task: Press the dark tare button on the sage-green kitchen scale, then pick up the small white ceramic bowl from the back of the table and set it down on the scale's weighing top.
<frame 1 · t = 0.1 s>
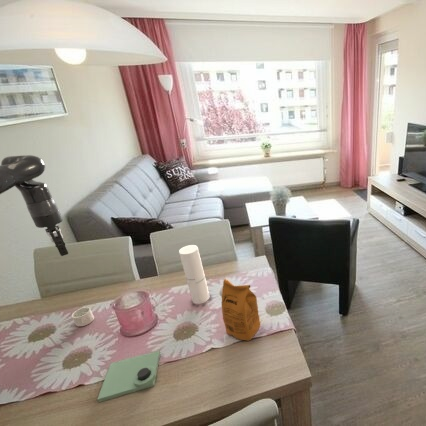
hand: (62, 250, 110), 30 cm above the table, tool pointing down, fingers open, 8 cm apart
tare button: (143, 374, 91), point 4 cm above the table, slide at 0.1 cm
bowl: (85, 321, 118), on the table
cylindrical container: (201, 298, 128), on the table
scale: (132, 375, 95), on the table
coffee package: (243, 330, 111), on the table
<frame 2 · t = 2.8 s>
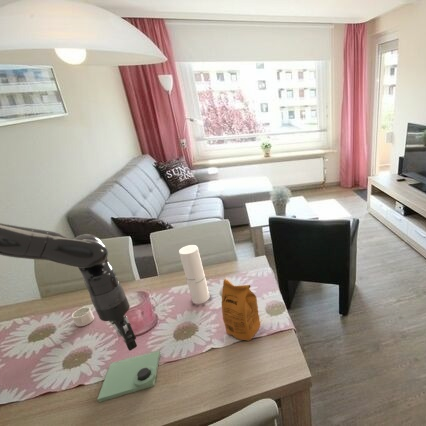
hand: (127, 341, 90), 14 cm above the table, tool pointing down, fingers open, 8 cm apart
nothing on the table moved.
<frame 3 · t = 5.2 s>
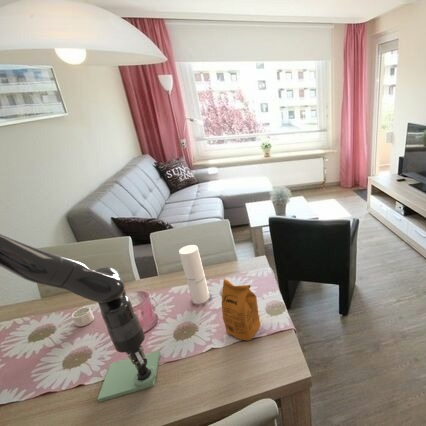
hand: (143, 372, 91), 4 cm above the table, tool pointing down, fingers closed
tare button: (143, 374, 91), point 3 cm above the table, slide at 0.1 cm, touching gripper
everything else where it was.
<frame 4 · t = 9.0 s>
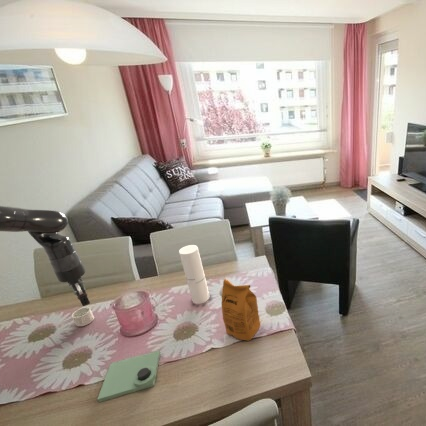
hand: (86, 304, 107), 13 cm above the table, tool pointing down, fingers closed
tare button: (143, 374, 91), point 4 cm above the table, slide at 0.1 cm
everything else where it was.
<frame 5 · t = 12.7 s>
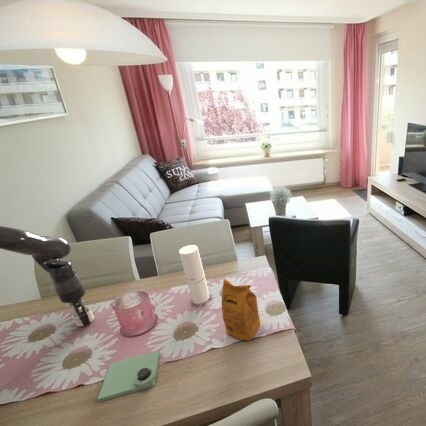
hand: (85, 320, 117), 1 cm above the table, tool pointing down, fingers closed on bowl, 6 cm apart
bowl: (85, 321, 118), on the table, touching gripper
everything else where it was.
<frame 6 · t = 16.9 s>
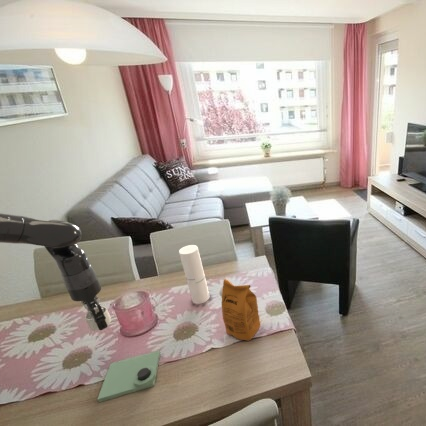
hand: (100, 323, 95), 15 cm above the table, tool pointing down, fingers closed on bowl, 6 cm apart
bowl: (101, 324, 96), point 15 cm above the table, touching gripper
everything else where it was.
when the fingers open (2 cm above the table, at t = 21.4 s): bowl stays where it is, resting on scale.
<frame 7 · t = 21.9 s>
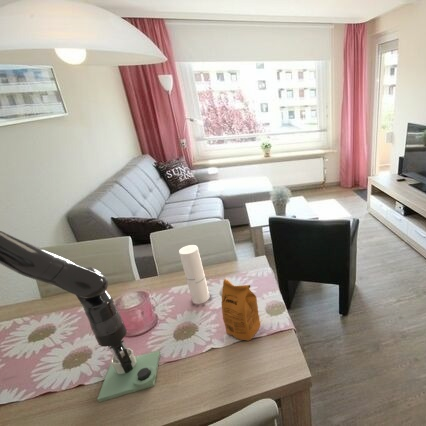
hand: (124, 363, 95), 3 cm above the table, tool pointing down, fingers open, 8 cm apart
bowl: (126, 366, 96), point 1 cm above the table, touching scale
everything else where it was.
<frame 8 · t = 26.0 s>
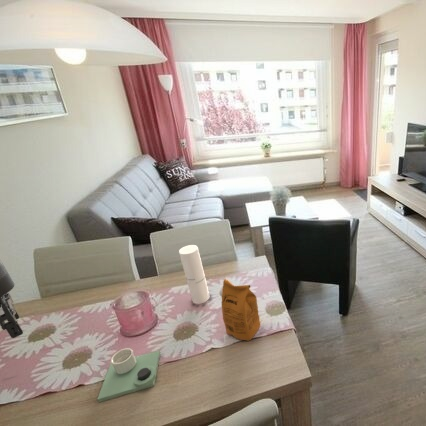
hand: (16, 327, 78), 28 cm above the table, tool pointing down, fingers open, 8 cm apart
nothing on the table moved.
at the end: tare button pushed in 0.9 cm at the most during the clip, back to where it started at the end; tare button slide at 0.1 cm; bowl inside the target area on the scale (3.6 cm from its centre), point 1.4 cm above the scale's base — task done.
